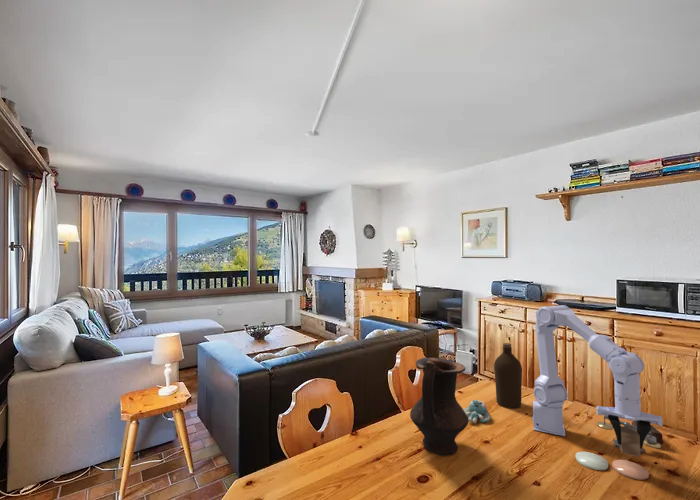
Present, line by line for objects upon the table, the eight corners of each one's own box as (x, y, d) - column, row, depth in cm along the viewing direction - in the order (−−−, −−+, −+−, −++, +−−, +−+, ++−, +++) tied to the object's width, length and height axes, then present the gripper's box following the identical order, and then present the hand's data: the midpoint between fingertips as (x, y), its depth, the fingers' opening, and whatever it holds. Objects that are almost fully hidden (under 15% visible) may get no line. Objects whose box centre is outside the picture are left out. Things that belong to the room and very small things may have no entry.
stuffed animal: (456, 407, 128) (465, 391, 137) (457, 425, 129) (466, 407, 138) (486, 414, 122) (493, 397, 131) (487, 433, 122) (494, 414, 132)
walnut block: (622, 453, 96) (621, 431, 96) (619, 446, 100) (618, 425, 100) (640, 457, 94) (639, 435, 94) (636, 449, 98) (636, 428, 98)
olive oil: (509, 411, 135) (507, 348, 136) (489, 401, 145) (487, 342, 146) (529, 406, 139) (527, 345, 140) (508, 397, 149) (506, 339, 150)
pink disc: (615, 474, 95) (615, 471, 95) (610, 459, 102) (610, 457, 102) (652, 483, 91) (652, 480, 91) (644, 467, 98) (644, 464, 98)
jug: (420, 427, 124) (419, 344, 125) (474, 440, 114) (471, 350, 115) (399, 456, 105) (397, 359, 106) (460, 475, 96) (457, 367, 97)
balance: (598, 444, 111) (597, 416, 111) (596, 437, 115) (595, 411, 115) (663, 457, 103) (661, 428, 103) (658, 450, 107) (657, 421, 107)
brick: (663, 448, 108) (663, 433, 108) (648, 446, 109) (648, 431, 109) (645, 432, 118) (644, 418, 118) (631, 430, 119) (631, 417, 120)
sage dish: (576, 465, 100) (576, 462, 100) (574, 451, 107) (574, 449, 107) (610, 473, 96) (610, 470, 96) (606, 458, 103) (606, 456, 103)
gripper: (598, 396, 98) (599, 445, 97) (665, 406, 90) (667, 459, 90) (594, 388, 104) (596, 433, 103) (657, 397, 97) (659, 446, 96)
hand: (629, 444), depth 97 cm, fingers closed on walnut block, 4 cm apart
